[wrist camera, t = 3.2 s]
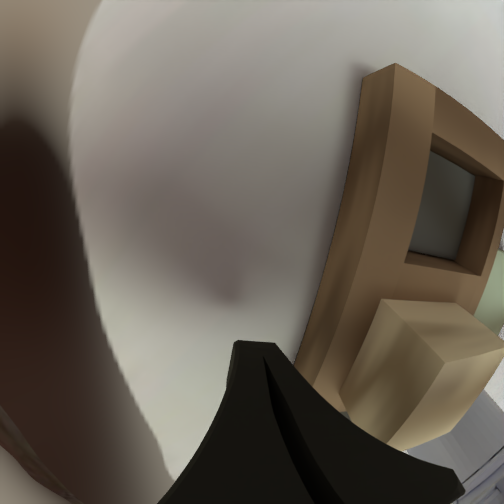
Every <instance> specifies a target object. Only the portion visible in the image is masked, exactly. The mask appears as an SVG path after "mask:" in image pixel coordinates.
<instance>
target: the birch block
mask: <svg viewBox="0 0 504 504" xmlns="http://www.w3.org/2000/svg"><path fill="white" fill-rule="evenodd" d="M503 357H504V341H503V340H502V339H501V338H500V337H499V336H497V335H496V334H495V333H494V332H492V331H491V330H490V329H489V328H488V327H486V326H485V325H484V324H483V323H481V322H480V321H479V320H477V319H476V318H475V317H474V316H472V315H471V314H470V313H468V312H467V311H466V310H464V309H463V308H462V307H461V306H459V305H458V304H456V303H446V302H425V301H407V300H391V299H381V301H380V304H379V306H378V309H377V311H376V314H375V316H374V319H373V321H372V324H371V326H370V328H369V331H368V333H367V335H366V338H365V340H364V342H363V345H362V347H361V349H360V351H359V353H358V355H357V358H356V360H355V362H354V364H353V366H352V368H351V370H350V372H349V374H348V376H347V378H346V380H345V382H344V384H343V386H342V388H341V389H340V391H339V393H338V394H339V396H340V398H341V400H342V402H343V404H344V406H345V408H346V411H347V413H348V415H349V417H350V419H351V421H352V422H353V423H354V424H355V425H357V426H358V427H360V428H361V429H363V430H364V431H366V432H367V433H369V434H370V435H372V436H374V437H375V438H377V439H379V440H380V441H382V442H384V443H385V444H387V445H389V446H391V447H393V448H395V449H397V450H399V451H401V452H402V451H404V450H407V449H410V448H413V447H415V446H418V445H420V444H423V443H425V442H428V441H430V440H433V439H435V438H437V437H439V436H442V435H444V434H446V433H448V432H450V431H451V430H452V429H453V428H454V427H455V425H456V424H457V423H458V422H459V421H460V419H461V418H462V417H463V416H464V414H465V413H466V412H467V411H468V409H469V408H470V407H471V405H472V404H473V403H474V401H475V400H476V399H477V397H478V396H479V395H480V393H481V392H482V390H483V389H484V387H485V386H486V384H487V383H488V381H489V380H490V378H491V377H492V375H493V374H494V372H495V370H496V369H497V367H498V366H499V364H500V362H501V361H502V359H503Z"/></svg>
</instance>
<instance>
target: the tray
mask: <svg viewBox="0 0 504 504" xmlns="http://www.w3.org/2000/svg"><path fill="white" fill-rule="evenodd" d="M503 229H504V140H503V139H502V138H501V137H500V136H499V135H498V134H496V133H495V132H494V131H493V130H492V129H491V128H490V127H489V126H488V125H486V124H485V123H484V122H483V121H482V120H480V119H479V118H478V117H477V116H476V115H474V114H473V113H472V112H471V111H469V110H468V109H467V108H466V107H464V106H463V105H462V104H460V103H459V102H458V101H456V100H455V99H453V98H452V97H451V96H449V95H448V94H446V93H445V92H443V91H442V90H440V89H439V88H437V87H436V86H434V85H433V84H431V83H430V82H428V81H426V80H425V79H423V78H422V77H420V76H418V75H416V74H415V73H413V72H411V71H409V70H408V69H406V68H404V67H402V66H400V65H399V64H397V63H394V64H391V65H389V66H387V67H385V68H383V69H380V70H378V71H376V72H374V73H372V74H370V75H368V76H366V77H364V78H363V80H362V88H361V96H360V103H359V110H358V117H357V123H356V130H355V136H354V141H353V147H352V153H351V158H350V163H349V168H348V173H347V178H346V183H345V188H344V192H343V197H342V201H341V206H340V210H339V215H338V219H337V223H336V227H335V231H334V235H333V239H332V243H331V247H330V251H329V254H328V258H327V262H326V265H325V269H324V273H323V276H322V280H321V283H320V286H319V290H318V293H317V297H316V300H315V303H314V306H313V310H312V313H311V316H310V319H309V322H308V325H307V328H306V331H305V334H304V337H303V340H302V343H301V346H300V349H299V352H298V355H297V358H296V360H295V363H294V367H295V368H296V369H297V370H298V371H299V373H300V374H301V375H302V376H303V377H304V378H305V379H306V380H307V381H308V383H309V384H310V385H311V386H312V387H313V388H314V389H315V390H316V391H317V392H318V393H319V394H320V395H321V396H322V397H323V398H324V399H325V400H326V401H328V402H329V403H330V404H331V405H332V406H333V407H334V408H335V409H336V410H338V411H339V412H340V413H341V414H342V415H344V416H345V417H346V418H348V419H349V420H350V421H351V419H350V417H349V415H348V413H347V411H346V408H345V406H344V404H343V402H342V400H341V398H340V396H339V394H338V393H339V391H340V389H341V388H342V386H343V384H344V382H345V380H346V378H347V376H348V374H349V372H350V370H351V368H352V366H353V364H354V362H355V360H356V358H357V355H358V353H359V351H360V349H361V347H362V345H363V342H364V340H365V338H366V335H367V333H368V331H369V328H370V326H371V324H372V321H373V319H374V316H375V314H376V311H377V309H378V306H379V304H380V301H381V299H391V300H407V301H425V302H446V303H456V304H458V305H459V306H461V307H462V308H463V309H464V310H466V311H467V312H468V313H470V314H471V315H472V316H474V317H475V318H476V319H477V320H479V321H480V322H481V323H483V324H484V325H485V326H486V327H488V328H489V329H490V330H491V331H492V332H494V333H495V334H496V335H497V336H498V334H499V332H500V330H501V328H502V326H503V324H504V251H503V250H500V249H498V248H499V244H500V240H501V237H502V233H503ZM409 250H411V251H409ZM414 251H416V252H414ZM418 252H420V253H418ZM423 253H425V254H423ZM428 254H430V255H428ZM432 255H434V256H432ZM437 256H439V257H437ZM442 257H443V258H442ZM446 258H448V259H446Z"/></svg>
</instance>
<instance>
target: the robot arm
mask: <svg viewBox="0 0 504 504" xmlns="http://www.w3.org/2000/svg"><path fill="white" fill-rule="evenodd" d="M407 452H408V453H409V455H408V454H406V453H404V452H401V451H399V450H397V449H395V448H393V447H391V446H389V445H387V444H385V443H384V442H382V441H380V440H379V439H377V438H375V437H374V436H372V435H370V434H369V433H367V432H366V431H364V430H363V429H361V428H360V427H358V426H357V425H355V424H354V423H353V422H352V421H350V420H349V419H348V418H346V417H345V416H344V415H342V414H341V413H340V412H339V411H338V410H336V409H335V408H334V407H333V406H332V405H331V404H330V403H329V402H328V401H326V400H325V399H324V398H323V397H322V396H321V395H320V394H319V393H318V392H317V391H316V390H315V389H314V388H313V387H312V386H311V385H310V384H309V383H308V381H307V380H306V379H305V378H304V377H303V376H302V375H301V374H300V373H299V371H298V370H297V369H296V368H295V367H294V366H293V364H292V363H291V362H290V361H289V360H288V358H287V357H286V356H285V355H284V353H283V352H282V351H281V350H280V349H279V347H278V346H277V345H276V344H275V343H270V342H255V341H243V340H237V341H236V342H234V344H233V349H232V355H231V360H230V365H229V371H228V376H227V385H226V391H225V394H224V396H223V399H222V402H221V404H220V407H219V409H218V411H217V413H216V416H215V418H214V420H213V422H212V424H211V426H210V428H209V430H208V432H207V434H206V435H205V437H204V439H203V441H202V442H201V444H200V446H199V448H198V449H197V451H196V452H195V454H194V456H193V457H192V459H191V460H190V462H189V463H188V465H187V466H186V467H185V469H184V470H183V472H182V473H181V474H180V476H179V477H178V479H177V480H176V481H175V483H174V484H173V485H172V487H171V488H170V489H169V491H168V492H167V493H166V494H165V495H164V496H163V498H162V499H161V500H160V501H159V502H158V503H157V504H504V412H503V411H502V409H501V408H500V407H499V406H498V405H497V404H496V402H495V401H494V400H493V399H492V398H491V397H490V396H489V395H488V393H487V392H486V391H485V390H484V389H483V390H482V392H481V393H480V395H479V396H478V397H477V399H476V400H475V401H474V403H473V404H472V405H471V407H470V408H469V409H468V411H467V412H466V413H465V414H464V416H463V417H462V418H461V419H460V421H459V422H458V423H457V424H456V425H455V427H454V428H453V429H452V430H451V431H450V432H448V433H446V434H444V435H442V436H439V437H437V438H435V439H433V440H430V441H428V442H425V443H423V444H420V445H418V446H415V447H413V448H410V449H407ZM462 484H463V485H462Z"/></svg>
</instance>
